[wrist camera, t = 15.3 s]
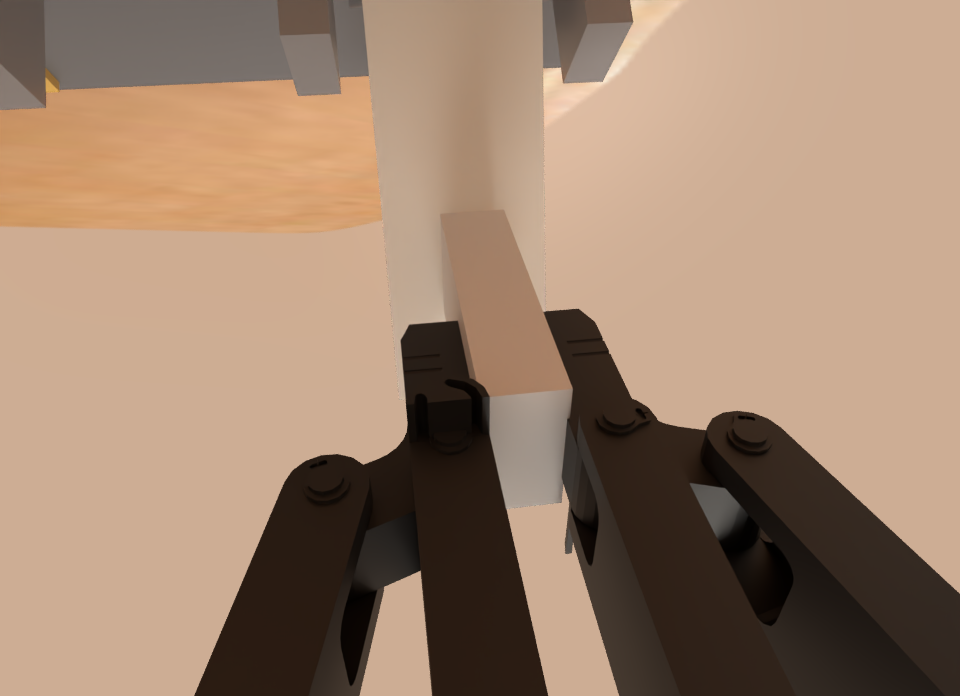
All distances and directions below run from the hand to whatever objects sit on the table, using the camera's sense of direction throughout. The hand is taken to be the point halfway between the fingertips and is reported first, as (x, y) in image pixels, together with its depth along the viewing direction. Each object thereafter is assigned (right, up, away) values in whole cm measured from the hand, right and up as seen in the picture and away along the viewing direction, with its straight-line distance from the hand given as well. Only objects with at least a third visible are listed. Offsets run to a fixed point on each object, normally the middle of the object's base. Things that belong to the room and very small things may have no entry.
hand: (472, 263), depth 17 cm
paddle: (-1, +6, -1) cm, 6 cm away
